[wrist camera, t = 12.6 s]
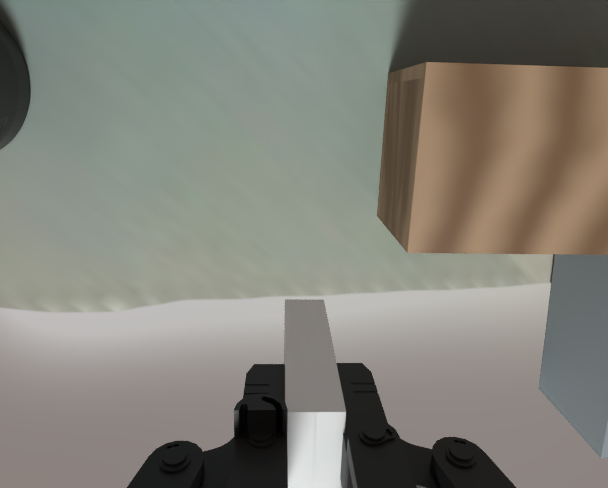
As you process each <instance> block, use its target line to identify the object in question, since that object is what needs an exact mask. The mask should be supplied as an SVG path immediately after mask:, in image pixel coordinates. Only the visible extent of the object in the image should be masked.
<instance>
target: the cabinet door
mask: <svg viewBox="0 0 608 488" xmlns="http://www.w3.org/2000/svg"><path fill="white" fill-rule="evenodd" d="M539 389H540V390H541V392H542V393H543V394H544V395H545V396H546V397H547V398H548V399H549V401H551V403H552V404H553V405H554V406H555V407H556V408H557V410H558V411H559V412H560V413H561V414H562V415H563V416H564V417H565V419H566V420H567V421H568V422H569V423H570V424H571V425H572V426H573V427H574V429H575V430H576V431H577V432H578V433H579V434H580V435H581V436H582V438H583V439H584V440H585V441H586V442H587V443H588V444H589V445H590V447H591V448H592V449H593V450H594V451H595V452H596V453H597V454H598V455H599V457H600V458H608V255H577V254H555V257H554V266H553V274H552V282H551V291H550V299H549V308H548V316H547V324H546V333H545V341H544V350H543V358H542V367H541V375H540V383H539Z"/></svg>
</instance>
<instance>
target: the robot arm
mask: <svg viewBox="0 0 608 488" xmlns="http://www.w3.org/2000/svg"><path fill="white" fill-rule="evenodd" d="M29 99H30V86H29V78H28V72H27V69H26V65H25V62H24V59H23V57H22V54H21V52H20V50H19V48H18V46H17V44H16V42H15V40H14V39H13V37H12V36H11V34H10V33H9V31H8V30H7V29H6V27H5V26H4V25H3V24H2V23H1V21H0V149H2V148H3V147H5V146H6V145H7V144H8V143H9V142H10V141H12V139H13V138H14V137H15V136H16V135H17V133H18V132H19V130H20V128H21V127H22V125H23V123H24V120H25V118H26V115H27V111H28V106H29ZM234 433H235V434H234V435H235V436H234V438H233V439H232V440H230V441H229V442H228V443H226V444H225V445H223V446H221V447H218V448H215V449H212V450H208V451H204V452H202V449H201V448H200V447H198V446H197V444H194V443H192V442H189V441H174V442H170V443H166V444H164V445H162V446H161V447H159V448H157V449H156V450H155V451H154V452H153V453H152V454H151V455H150V456H149V457H148V458H147V460H146V461H145V463H144V464H143V465H142V467H141V468H140V470H139V471H138V473H137V474H136V475H135V477H134V478H133V480H132V481H131V482H130V484H129V486H128V487H127V488H341V487H342V488H516V487H515V486H514V485H513V483H512V482H511V481H510V480H509V479H508V478H507V477H506V476H505V475H504V473H503V472H502V471H501V470H500V469H499V468H498V467H497V466H496V465H495V464H494V462H493V461H492V460H491V459H490V458H489V457H488V456H487V454H486V453H485V452H484V451H483V450H482V449H480V448H479V447H478V446H477V445H476V444H474V443H472V442H470V441H468V440H466V439H462V438H457V437H444V438H442V439H440V440H437V441H436V443H435V444H434V445H433V448H432V449H428V448H424V447H420V446H416V445H413V444H410V443H407V442H405V441H403V440H402V439H400V437H399V435H398V433H397V432H396V430H395V429H394V428H393V427H391V426H390V425H389V424H388V422H387V419H386V416H385V413H384V410H383V407H382V404H381V401H380V398H379V395H378V393H377V388H376V385H375V382H374V379H373V376H372V373H371V371H369V369H367V368H366V367H365V366H364V365H363V364H362V363H336V359H335V354H334V349H333V344H332V339H331V334H330V329H329V324H328V319H327V314H326V309H325V304H324V300H285V338H284V364H254V365H253V366H252V368H251V369H250V370H249V371H248V373H247V374H246V381H245V389H244V395H243V399H242V400H241V401H239V402H238V403H237V405H236V407H235V409H234Z"/></svg>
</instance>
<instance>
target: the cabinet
mask: <svg viewBox="0 0 608 488" xmlns="http://www.w3.org/2000/svg"><path fill="white" fill-rule="evenodd" d="M377 216H378V218H379V219H380V220H381V221H382V222H383V224H384V225H385V226H386V227H387V229H388V230H389V231H390V232H391V233H392V235H393V236H394V237H395V238H396V239H397V241H398V242H399V243H400V244H401V246H402V247H403V248H404V249H405V250H406V252H407V253H491V254H577V255H608V68H596V67H565V66H534V65H504V64H473V63H442V62H425V63H421V64H418V65H415V66H411V67H408V68H404V69H401V70H397V71H394V72H391V73H388V83H387V96H386V108H385V121H384V134H383V147H382V160H381V173H380V185H379V198H378V211H377Z"/></svg>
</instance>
